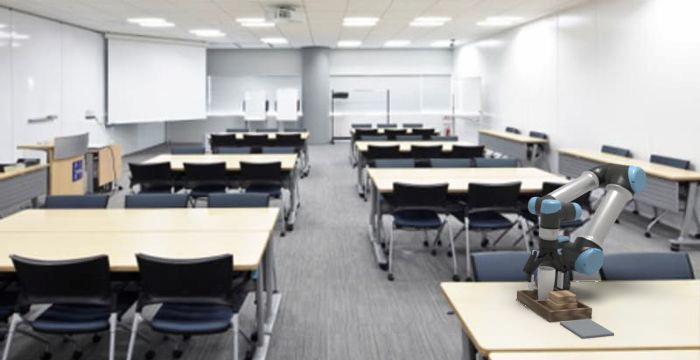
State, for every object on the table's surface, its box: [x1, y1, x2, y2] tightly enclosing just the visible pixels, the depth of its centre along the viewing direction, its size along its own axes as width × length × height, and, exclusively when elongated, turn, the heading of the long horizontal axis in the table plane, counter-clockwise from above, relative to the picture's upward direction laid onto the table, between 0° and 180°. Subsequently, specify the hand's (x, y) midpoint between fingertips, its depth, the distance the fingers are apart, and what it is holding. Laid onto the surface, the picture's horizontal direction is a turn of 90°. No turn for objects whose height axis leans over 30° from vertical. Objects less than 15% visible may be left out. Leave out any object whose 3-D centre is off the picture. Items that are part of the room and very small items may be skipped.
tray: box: [516, 288, 593, 323], centre depth 221 cm, size 18×24×4 cm
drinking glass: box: [536, 266, 555, 300], centre depth 225 cm, size 7×7×15 cm
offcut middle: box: [546, 299, 578, 311], centre depth 215 cm, size 9×7×3 cm
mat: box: [559, 318, 615, 340], centre depth 201 cm, size 13×13×1 cm
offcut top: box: [548, 290, 577, 304], centre depth 215 cm, size 8×6×3 cm
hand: (545, 288), depth 225 cm, fingers open, 13 cm apart
